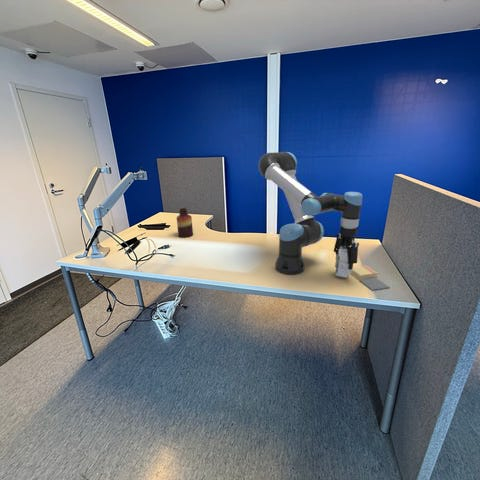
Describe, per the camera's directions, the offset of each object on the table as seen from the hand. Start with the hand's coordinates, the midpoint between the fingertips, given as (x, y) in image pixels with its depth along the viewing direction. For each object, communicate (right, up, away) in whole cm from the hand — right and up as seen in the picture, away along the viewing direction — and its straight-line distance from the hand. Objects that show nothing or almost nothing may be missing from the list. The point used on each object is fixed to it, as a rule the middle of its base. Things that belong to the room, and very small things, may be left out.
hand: (342, 270), depth 125 cm
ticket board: (+11, -2, +3) cm, 11 cm away
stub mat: (+12, -6, -6) cm, 15 cm away
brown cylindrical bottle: (-91, +18, +66) cm, 114 cm away
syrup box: (0, -2, +1) cm, 2 cm away
